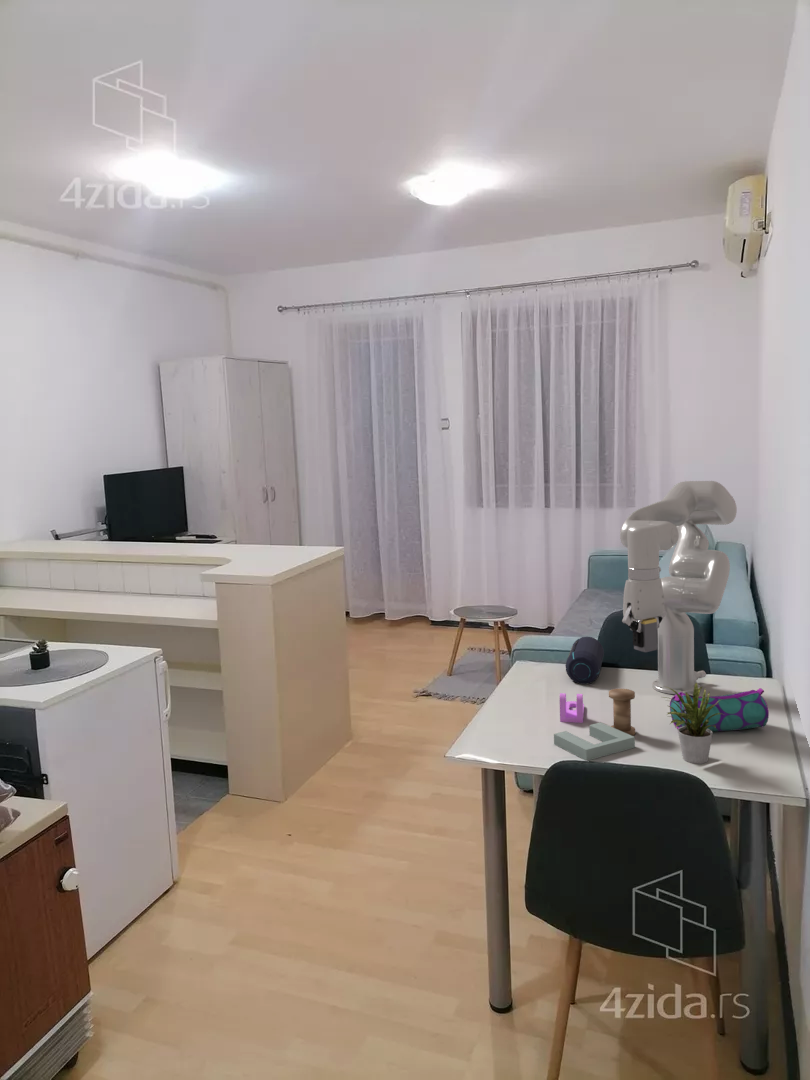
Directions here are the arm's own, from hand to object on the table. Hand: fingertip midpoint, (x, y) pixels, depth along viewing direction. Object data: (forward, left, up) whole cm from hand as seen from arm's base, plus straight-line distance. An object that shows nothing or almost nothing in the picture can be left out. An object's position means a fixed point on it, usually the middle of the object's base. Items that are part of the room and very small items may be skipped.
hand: (645, 644), depth 194 cm
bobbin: (+15, +7, -18) cm, 24 cm away
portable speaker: (-9, -35, -18) cm, 40 cm away
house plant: (+12, +26, -18) cm, 34 cm away
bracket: (+16, -10, -18) cm, 26 cm away
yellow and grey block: (0, 0, -1) cm, 1 cm away
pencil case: (-6, +18, -18) cm, 26 cm away
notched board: (+26, +9, -18) cm, 33 cm away
